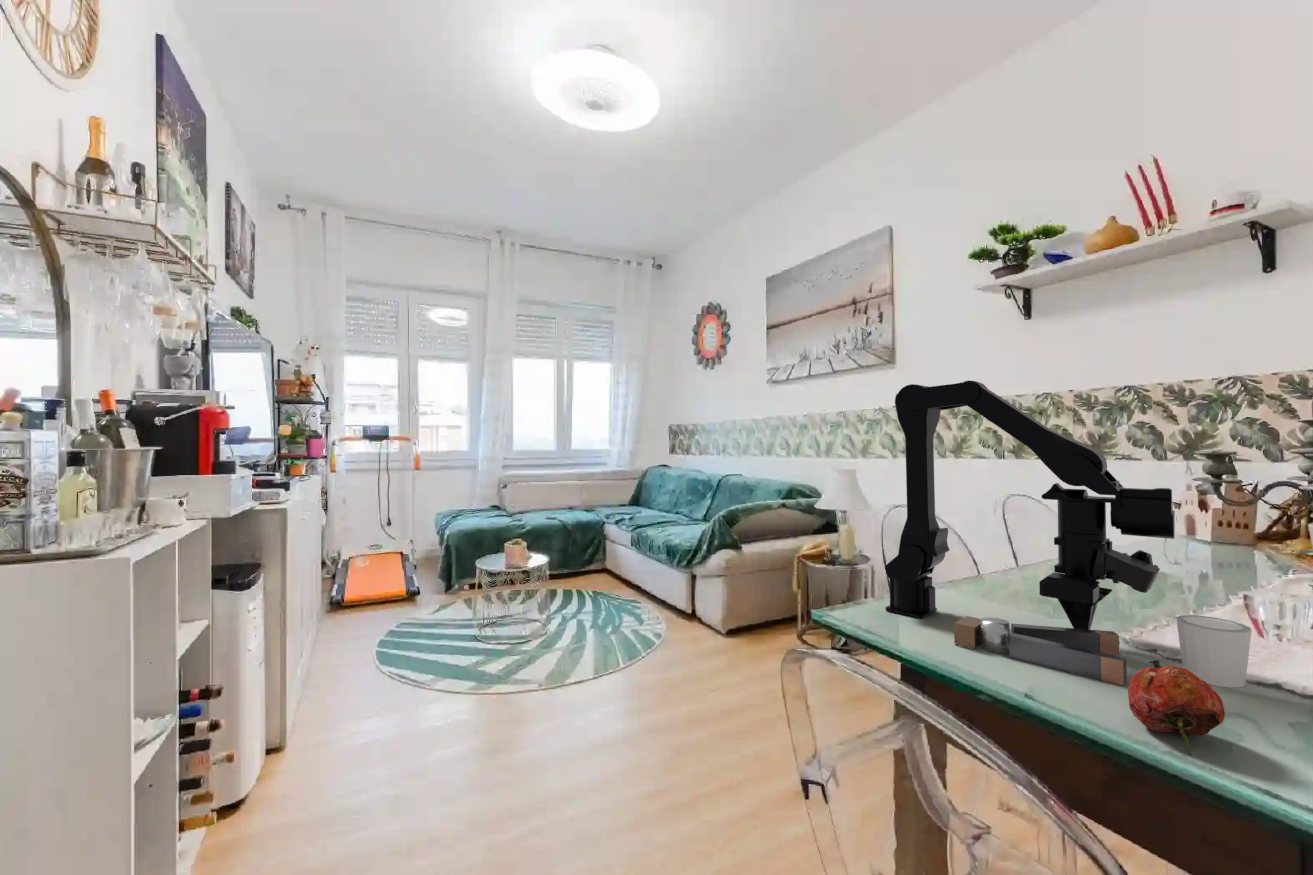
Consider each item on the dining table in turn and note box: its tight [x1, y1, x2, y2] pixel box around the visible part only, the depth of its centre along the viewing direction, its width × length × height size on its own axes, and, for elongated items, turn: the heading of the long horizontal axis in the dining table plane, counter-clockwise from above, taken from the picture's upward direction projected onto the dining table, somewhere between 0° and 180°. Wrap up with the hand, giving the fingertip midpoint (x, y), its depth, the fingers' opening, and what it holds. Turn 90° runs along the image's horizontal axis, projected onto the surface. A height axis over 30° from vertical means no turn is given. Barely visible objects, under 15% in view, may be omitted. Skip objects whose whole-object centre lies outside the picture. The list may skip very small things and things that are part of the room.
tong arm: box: [1010, 623, 1120, 656], centre depth 81 cm, size 12×2×3 cm, turn 71°
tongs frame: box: [953, 615, 1128, 687], centre depth 79 cm, size 20×5×4 cm, turn 41°
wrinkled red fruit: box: [1127, 659, 1226, 756], centre depth 59 cm, size 7×7×10 cm
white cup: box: [1176, 614, 1253, 689], centre depth 73 cm, size 7×7×7 cm
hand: (1082, 637), depth 85 cm, fingers closed
